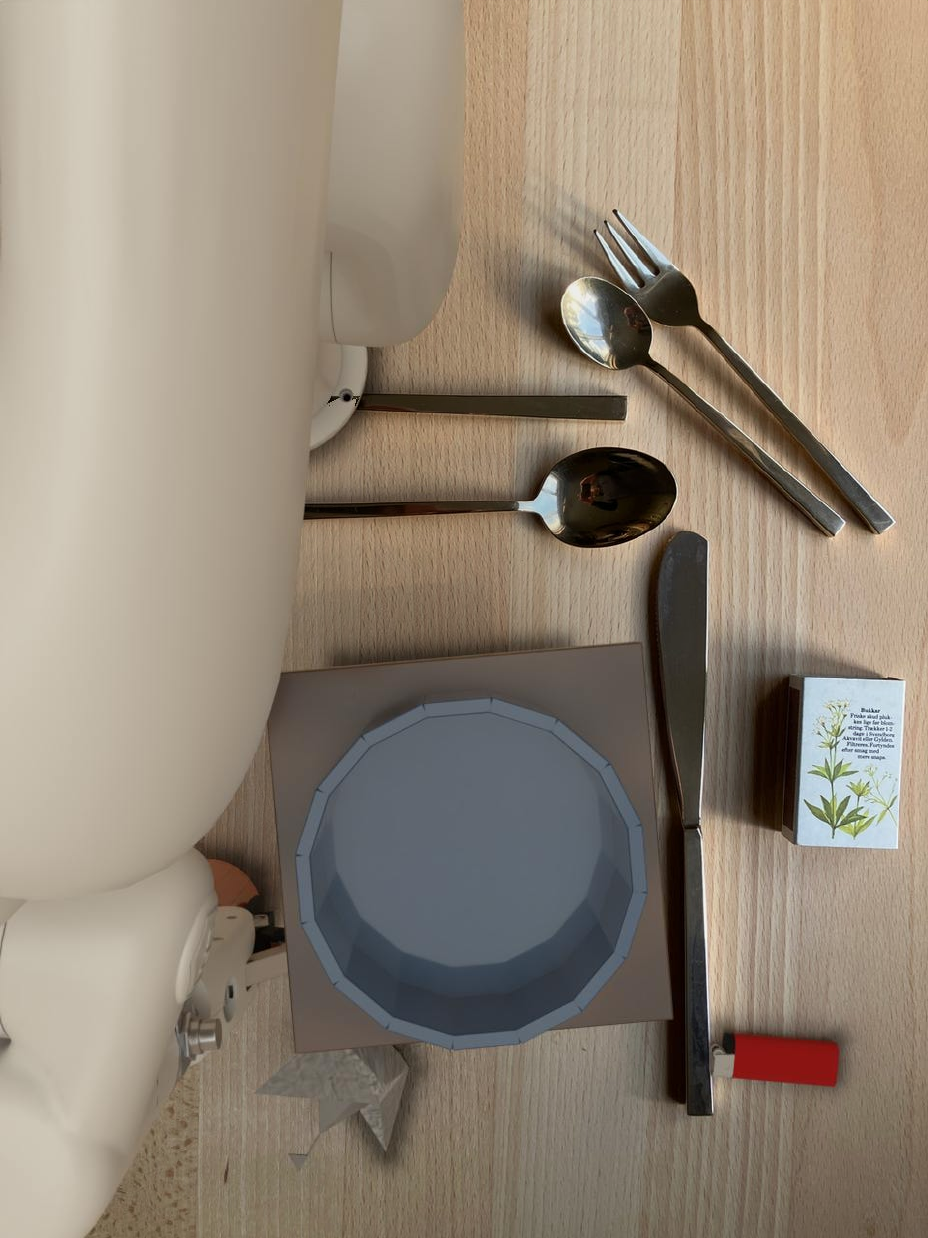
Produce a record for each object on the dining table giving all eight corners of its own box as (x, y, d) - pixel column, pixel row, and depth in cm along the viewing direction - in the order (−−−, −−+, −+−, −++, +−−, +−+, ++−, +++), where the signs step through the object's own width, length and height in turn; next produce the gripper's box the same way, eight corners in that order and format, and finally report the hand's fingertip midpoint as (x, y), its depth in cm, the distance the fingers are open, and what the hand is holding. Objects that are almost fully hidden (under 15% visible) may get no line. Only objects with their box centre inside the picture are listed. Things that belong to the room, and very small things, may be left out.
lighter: (835, 1091, 67) (711, 1080, 67) (828, 1082, 69) (706, 1071, 68) (840, 1047, 67) (716, 1036, 67) (832, 1039, 69) (710, 1028, 68)
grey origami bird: (468, 1087, 67) (391, 1227, 65) (411, 1043, 72) (338, 1172, 70) (339, 1017, 61) (248, 1171, 58) (287, 976, 66) (201, 1115, 63)
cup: (148, 863, 68) (111, 894, 60) (257, 854, 68) (234, 883, 60) (157, 971, 68) (122, 1016, 60) (266, 962, 68) (244, 1005, 60)
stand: (326, 653, 68) (262, 674, 44) (572, 632, 68) (642, 642, 44) (347, 900, 68) (294, 1055, 44) (593, 878, 68) (673, 1020, 44)
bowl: (298, 704, 44) (282, 714, 40) (612, 677, 44) (631, 684, 40) (325, 1018, 44) (311, 1064, 40) (638, 990, 44) (660, 1032, 40)
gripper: (292, 940, 48) (333, 852, 65) (-95, 974, 47) (52, 877, 65) (306, 1104, 48) (343, 972, 66) (-80, 1140, 47) (62, 997, 65)
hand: (197, 925), depth 65 cm, fingers closed on cup, 7 cm apart
